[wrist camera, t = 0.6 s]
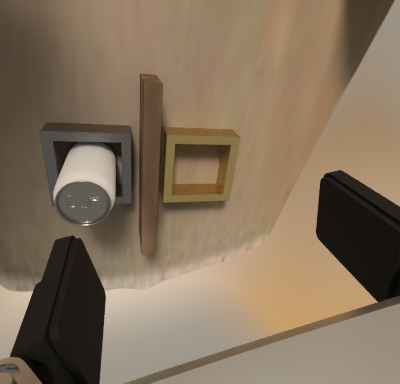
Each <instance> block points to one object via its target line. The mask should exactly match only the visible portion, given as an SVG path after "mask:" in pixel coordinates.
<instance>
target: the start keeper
mask: <svg viewBox="0 0 400 384" xmlns="http://www.w3.org/2000/svg"><path fill="white" fill-rule="evenodd" d="M40 133H41V139H42V145H43V152H44V158H45V164H46V170H47V176H48V183H49V189H50V195H51V201H52V206H55V202H54V198H53V193H54V188H55V185H56V182H57V180H58V177H59V175H60V172H61V170H62V167H63V166H62V159H61V151H60V143H59V141H75V142H119V143H121V147H122V185H116V194H115V202H114V204H131V129H130V126H122V125H96V124H69V123H46V124H45V125H44V127H43V128H42V129H41V131H40Z"/></svg>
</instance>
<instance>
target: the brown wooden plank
mask: <svg viewBox="0 0 400 384" xmlns="http://www.w3.org/2000/svg"><path fill="white" fill-rule="evenodd" d="M162 93H163V84H162V82H161V81H160V80H159V78H158V77H157V76H156V75H149V74H140V154H139V233H140V244H141V254H142V255H153V254H155V251H156V229H157V206H158V183H159V161H160V138H161V116H162Z"/></svg>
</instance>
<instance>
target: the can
mask: <svg viewBox="0 0 400 384" xmlns="http://www.w3.org/2000/svg"><path fill="white" fill-rule="evenodd" d="M115 194H116V158H115V155H114V153H113V151H112V150H111V149H110V148H109V147H108V146H107V145H106V144H104V143H102V142H78V143H77V144H75V145H74V146H73V147H72V148H71V149H70V151H69V153H68V155H67V157H66V160H65V162H64V165H63V167H62V170H61V172H60V175H59V177H58V180H57V182H56V185H55V188H54V193H53V198H54V202H55V208H56V211H57V213H58V214H59V216H60V217H61V218H62V219H64V220H65V221H67V222H68V223H71V224H73V225H77V226H91V225H95V224H97V223H99V222H101V221H102V220H104V219H105V218H106V217H107V216H108V214H109V212H110V210H111V209H112V207H113V205H114V202H115Z"/></svg>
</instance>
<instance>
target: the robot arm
mask: <svg viewBox="0 0 400 384" xmlns="http://www.w3.org/2000/svg"><path fill="white" fill-rule="evenodd" d="M316 234H317V237H318V239H319V240H320V241H321V242H322V243H323V245H324V246H325V247H326V248H327V249H328V250H329V251H330V252H331V253H332V254H333V255H334V256H335V257H336V258H337V259H338V260H339V261H340V263H342V265H343V266H344V267H345V268H346V269H347V270H348V271H349V272H350V273H351V274H352V275H353V276H354V277H355V278H356V279H357V280H358V281H359V283H360V284H361V285H362V286H363V287H364V288H365V289H366V290H367V291H368V292H369V293H370V294H371V295H372V296H373V297H374V298H375V299H376V301H378V303H375V304H371V305H368V306H365V307H362V308H359V309H355V310H352V311H349V312H346V313H343V314H339V315H336V316H333V317H330V318H326V319H323V320H320V321H317V322H314V323H310V324H307V325H304V326H301V327H298V328H294V329H291V330H288V331H285V332H282V333H278V334H275V335H272V336H269V337H266V338H263V339H259V340H257V341H254V342H250V343H247V344H244V345H241V346H237V347H234V348H231V349H228V350H225V351H222V352H219V353H216V354H212V355H209V356H206V357H203V358H200V359H197V360H194V361H191V362H188V363H185V364H181V365H178V366H175V367H172V368H169V369H166V370H163V371H160V372H157V373H154V374H151V375H148V376H145V377H142V378H139V379H136V380H133V381H130V382H127V383H124V384H400V207H399V206H398V205H396V204H394V203H393V202H391V201H390V200H388V199H386V198H385V197H383V196H382V195H380V194H378V193H377V192H375V191H374V190H372V189H370V188H369V187H367V186H366V185H364V184H363V183H361V182H359V181H358V180H356V179H355V178H353V177H351V176H350V175H348V174H347V173H345V172H343V171H341V170H338V171H334V172H330V173H326V174H325V175H324V178H322V179H321V181H320V191H319V204H318V214H317V226H316ZM105 301H106V296H105V291H104V288H103V286H102V283H101V281H100V279H99V277H98V275H97V272H96V270H95V268H94V266H93V264H92V261H91V259H90V257H89V255H88V252H87V250H86V248H85V246H84V244H83V241H82V240H81V238H77V239H76V238H75V237H74V236H73V235H72V236H68V237H64V238H60V239H57V240H55V242H54V245H53V248H52V251H51V254H50V257H49V260H48V263H47V266H46V269H45V272H44V275H43V278H42V281H41V282H39V283H38V284H36V286H35V288H34V291H33V294H32V296H31V299H30V302H29V305H28V308H27V310H26V313H25V316H24V319H23V322H22V324H21V327H20V330H19V333H18V336H17V338H16V341H15V344H14V347H13V349H12V352H11V355H10V357H9V358H5V359H2V360H0V384H99V382H100V368H101V354H102V341H103V326H104V315H105Z"/></svg>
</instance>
